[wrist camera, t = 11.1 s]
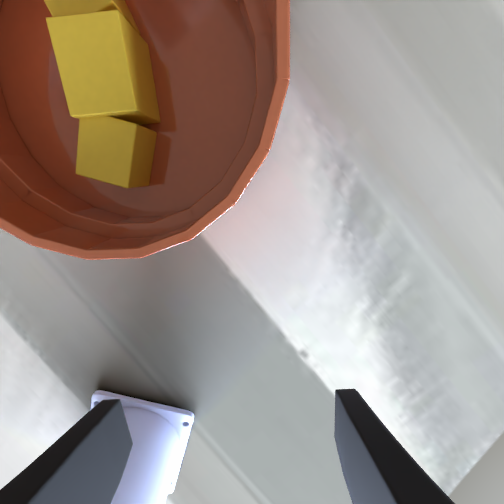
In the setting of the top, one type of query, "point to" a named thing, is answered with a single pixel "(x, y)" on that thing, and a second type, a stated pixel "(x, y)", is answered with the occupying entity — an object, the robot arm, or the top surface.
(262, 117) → the bowl
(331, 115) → the top surface
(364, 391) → the top surface
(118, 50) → the yellow banana
